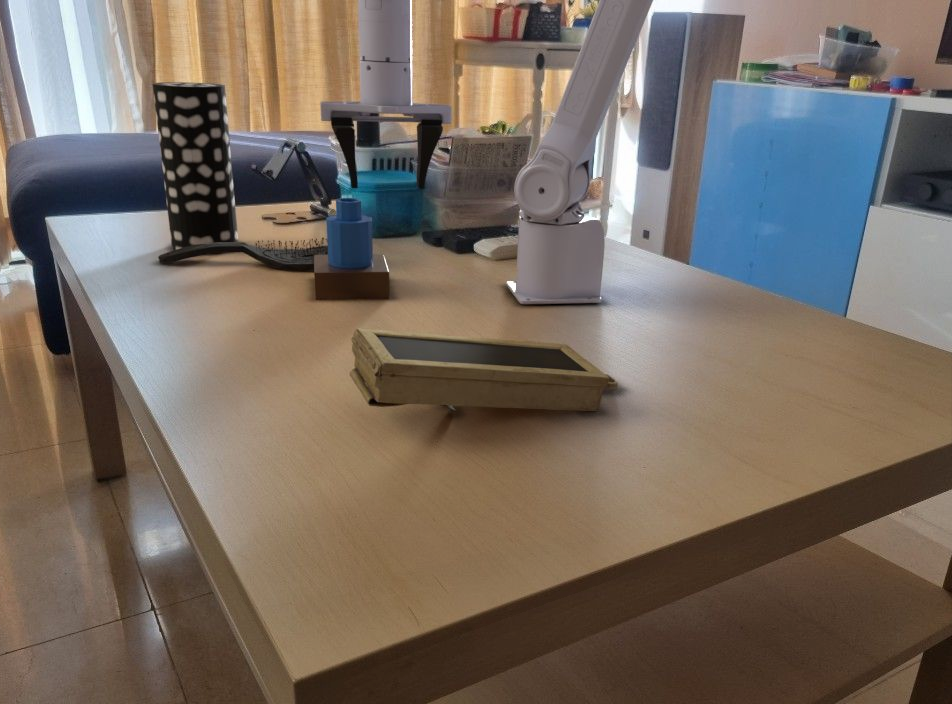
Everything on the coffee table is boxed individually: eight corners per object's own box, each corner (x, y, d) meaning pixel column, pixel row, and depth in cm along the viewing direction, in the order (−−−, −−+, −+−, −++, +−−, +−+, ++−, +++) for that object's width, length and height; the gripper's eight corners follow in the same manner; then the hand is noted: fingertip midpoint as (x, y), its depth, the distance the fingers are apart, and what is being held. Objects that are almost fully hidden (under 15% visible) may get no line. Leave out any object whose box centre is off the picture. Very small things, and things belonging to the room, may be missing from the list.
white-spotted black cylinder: (252, 246, 111) (239, 86, 103) (200, 257, 105) (182, 87, 97) (210, 236, 115) (194, 81, 107) (158, 246, 109) (137, 82, 101)
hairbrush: (163, 232, 104) (365, 224, 108) (168, 261, 106) (367, 252, 109) (147, 248, 97) (365, 238, 100) (153, 279, 98) (368, 268, 102)
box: (341, 386, 65) (349, 325, 64) (584, 395, 76) (598, 343, 74) (369, 431, 59) (379, 365, 57) (632, 434, 69) (648, 378, 67)
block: (383, 278, 100) (383, 254, 98) (389, 298, 92) (389, 271, 91) (315, 279, 98) (313, 254, 97) (315, 299, 91) (314, 272, 90)
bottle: (371, 257, 97) (369, 196, 94) (374, 268, 92) (372, 204, 89) (328, 257, 96) (325, 195, 93) (328, 269, 91) (325, 204, 88)
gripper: (318, 60, 87) (324, 192, 92) (456, 65, 90) (454, 193, 95) (318, 57, 93) (323, 182, 99) (447, 62, 96) (445, 183, 102)
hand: (387, 187), depth 97 cm, fingers open, 7 cm apart
